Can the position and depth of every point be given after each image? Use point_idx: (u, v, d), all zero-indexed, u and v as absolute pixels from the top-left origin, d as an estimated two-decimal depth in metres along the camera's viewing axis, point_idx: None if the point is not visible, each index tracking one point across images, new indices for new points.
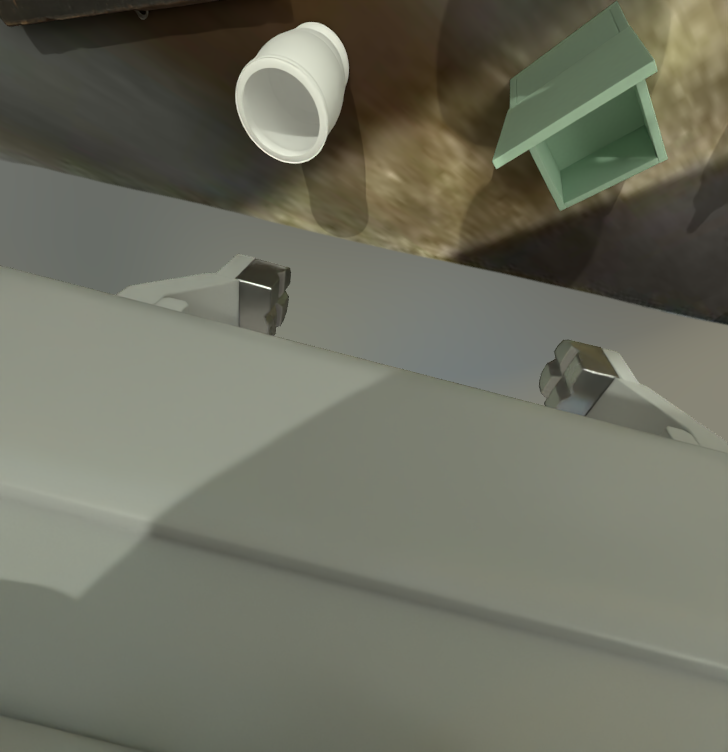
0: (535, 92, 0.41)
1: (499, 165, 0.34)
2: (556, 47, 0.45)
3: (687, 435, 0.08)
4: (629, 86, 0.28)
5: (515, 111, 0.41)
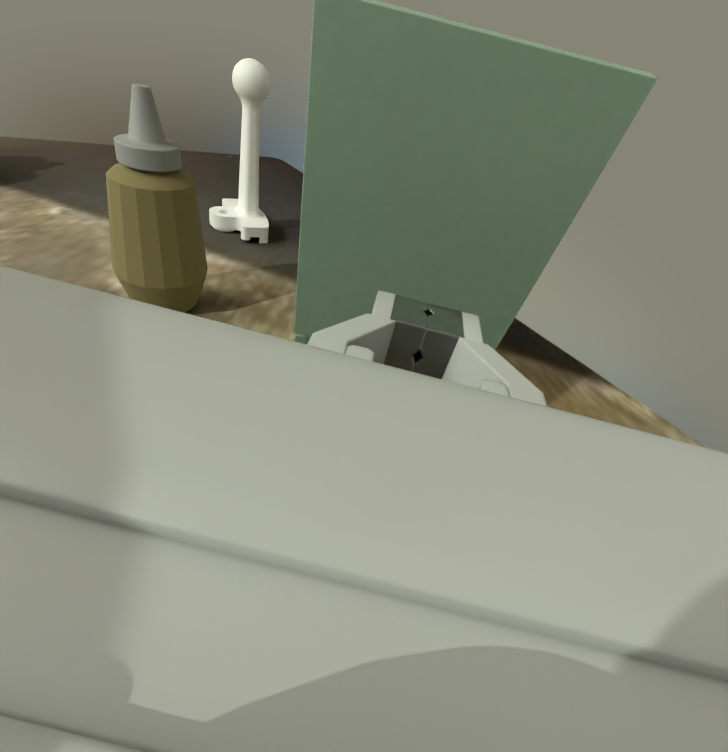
0: None
1: (641, 71, 0.14)
2: None
3: (502, 388, 0.08)
4: None
5: None
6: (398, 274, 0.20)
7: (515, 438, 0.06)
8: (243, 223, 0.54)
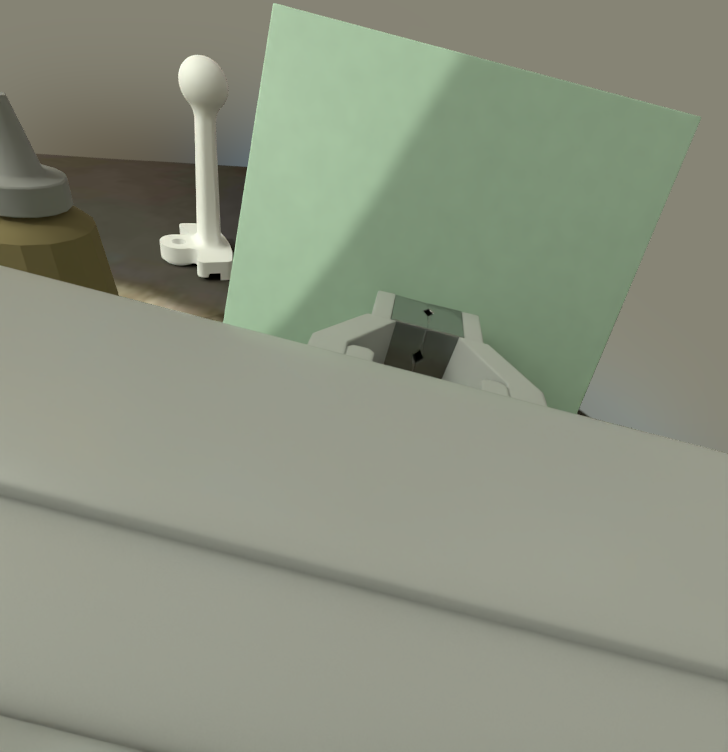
0: None
1: None
2: None
3: (502, 388, 0.08)
4: None
5: None
6: None
7: (515, 438, 0.06)
8: (200, 257, 0.44)
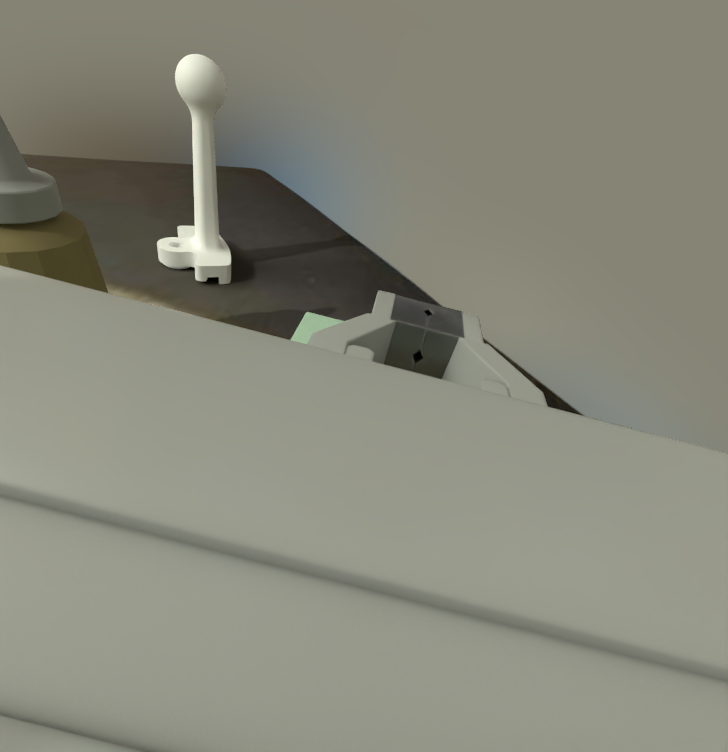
0: None
1: None
2: None
3: (502, 388, 0.08)
4: None
5: None
6: None
7: (515, 438, 0.06)
8: (198, 260, 0.44)
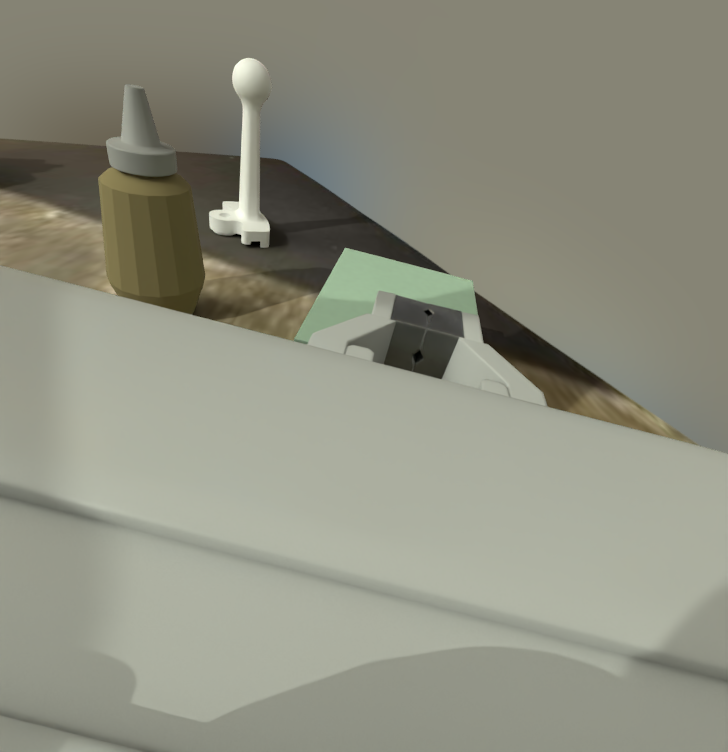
0: None
1: None
2: None
3: (502, 388, 0.08)
4: None
5: None
6: None
7: (515, 438, 0.06)
8: (243, 227, 0.53)
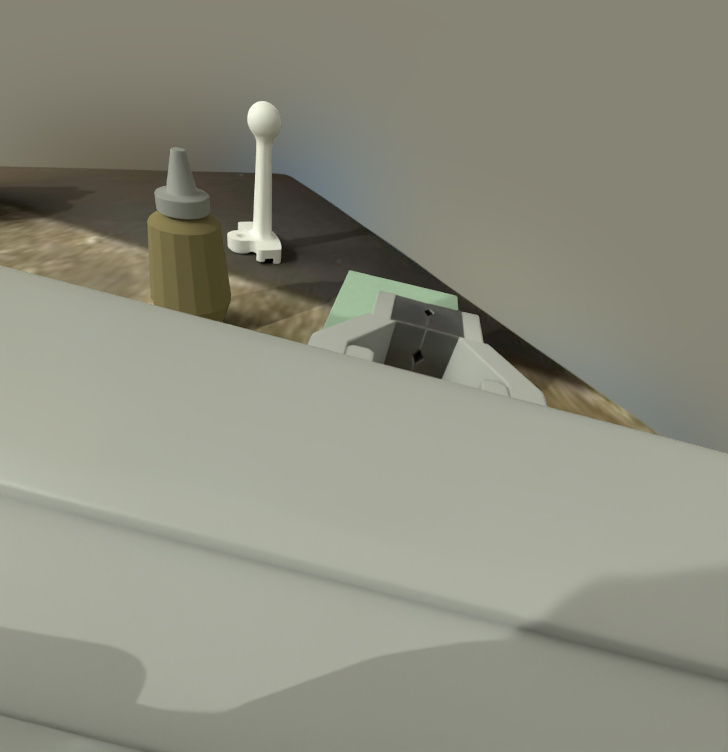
0: None
1: None
2: None
3: (502, 388, 0.08)
4: None
5: None
6: None
7: (515, 438, 0.06)
8: (258, 246, 0.60)
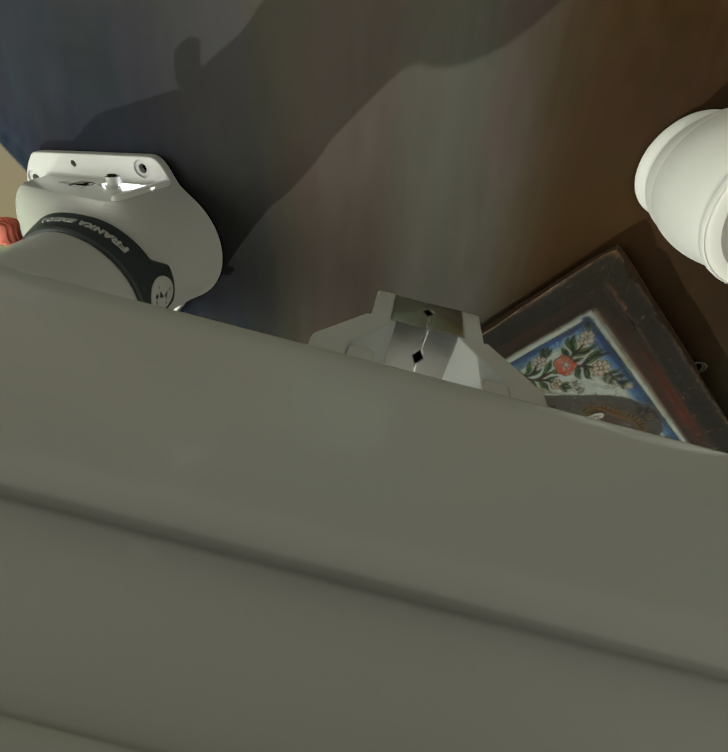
0: None
1: None
2: None
3: (502, 388, 0.08)
4: None
5: None
6: None
7: (515, 438, 0.06)
8: None
